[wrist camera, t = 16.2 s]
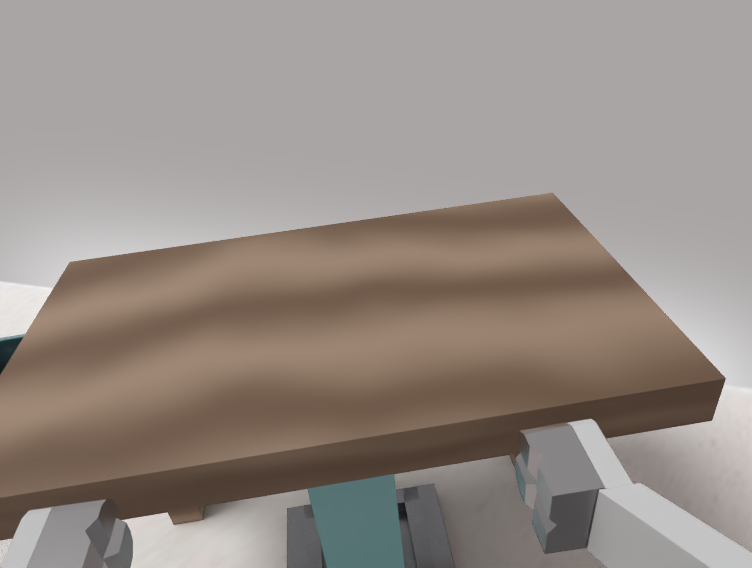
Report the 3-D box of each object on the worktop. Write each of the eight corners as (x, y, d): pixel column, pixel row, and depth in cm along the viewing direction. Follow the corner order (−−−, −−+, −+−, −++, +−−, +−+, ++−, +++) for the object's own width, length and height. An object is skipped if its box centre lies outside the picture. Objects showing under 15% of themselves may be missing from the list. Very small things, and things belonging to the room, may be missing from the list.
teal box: (408, 602, 33) (392, 463, 26) (338, 614, 33) (304, 478, 26) (395, 523, 37) (378, 387, 30) (333, 534, 37) (302, 399, 30)
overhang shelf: (633, 660, 30) (725, 378, 19) (130, 756, 29) (-84, 511, 18) (532, 440, 43) (552, 192, 32) (178, 499, 41) (69, 261, 30)
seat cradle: (473, 647, 31) (473, 629, 30) (290, 681, 31) (283, 664, 30) (434, 492, 40) (433, 474, 39) (289, 517, 39) (284, 499, 38)
